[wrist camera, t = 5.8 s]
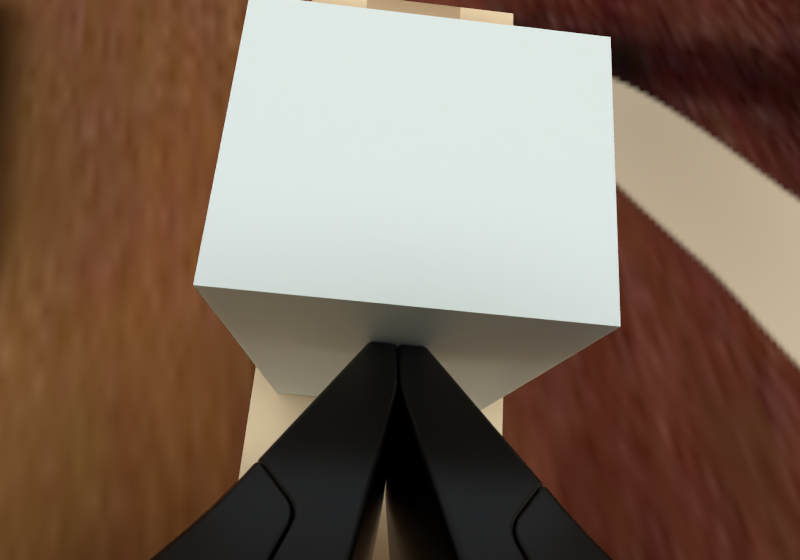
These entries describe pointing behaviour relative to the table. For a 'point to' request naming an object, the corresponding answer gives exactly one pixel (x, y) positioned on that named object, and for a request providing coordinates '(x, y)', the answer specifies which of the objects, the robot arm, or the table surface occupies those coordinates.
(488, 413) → the beam
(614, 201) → the block
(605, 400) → the table surface
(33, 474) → the table surface
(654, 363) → the table surface
